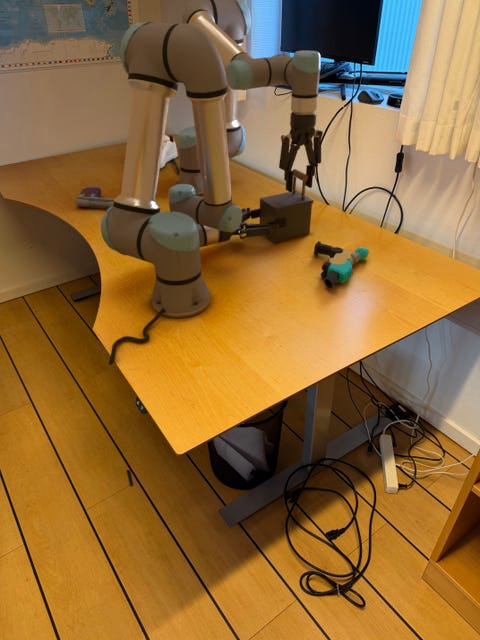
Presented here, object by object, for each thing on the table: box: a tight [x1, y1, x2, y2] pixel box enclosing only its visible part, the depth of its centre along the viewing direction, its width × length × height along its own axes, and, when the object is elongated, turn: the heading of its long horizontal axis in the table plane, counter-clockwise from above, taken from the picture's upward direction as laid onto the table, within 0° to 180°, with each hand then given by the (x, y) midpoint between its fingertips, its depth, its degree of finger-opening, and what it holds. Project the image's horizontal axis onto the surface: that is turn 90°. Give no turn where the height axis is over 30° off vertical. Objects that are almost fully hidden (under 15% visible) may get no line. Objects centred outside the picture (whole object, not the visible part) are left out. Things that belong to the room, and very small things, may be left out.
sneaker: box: [160, 134, 179, 169], centre depth 214 cm, size 10×29×12 cm, turn 163°
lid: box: [259, 168, 315, 212], centre depth 150 cm, size 14×10×9 cm
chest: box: [259, 201, 313, 244], centre depth 155 cm, size 14×10×11 cm
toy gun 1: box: [74, 186, 115, 210], centre depth 180 cm, size 4×19×15 cm
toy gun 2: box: [313, 240, 370, 290], centre depth 137 cm, size 4×26×15 cm
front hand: (277, 216), depth 153 cm, fingers closed on chest, 10 cm apart
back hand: (298, 188), depth 152 cm, fingers open, 7 cm apart
